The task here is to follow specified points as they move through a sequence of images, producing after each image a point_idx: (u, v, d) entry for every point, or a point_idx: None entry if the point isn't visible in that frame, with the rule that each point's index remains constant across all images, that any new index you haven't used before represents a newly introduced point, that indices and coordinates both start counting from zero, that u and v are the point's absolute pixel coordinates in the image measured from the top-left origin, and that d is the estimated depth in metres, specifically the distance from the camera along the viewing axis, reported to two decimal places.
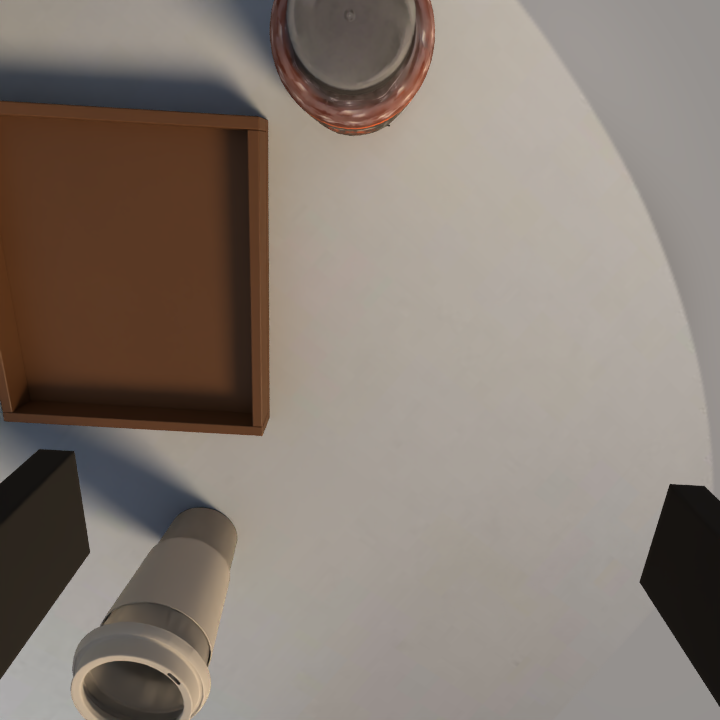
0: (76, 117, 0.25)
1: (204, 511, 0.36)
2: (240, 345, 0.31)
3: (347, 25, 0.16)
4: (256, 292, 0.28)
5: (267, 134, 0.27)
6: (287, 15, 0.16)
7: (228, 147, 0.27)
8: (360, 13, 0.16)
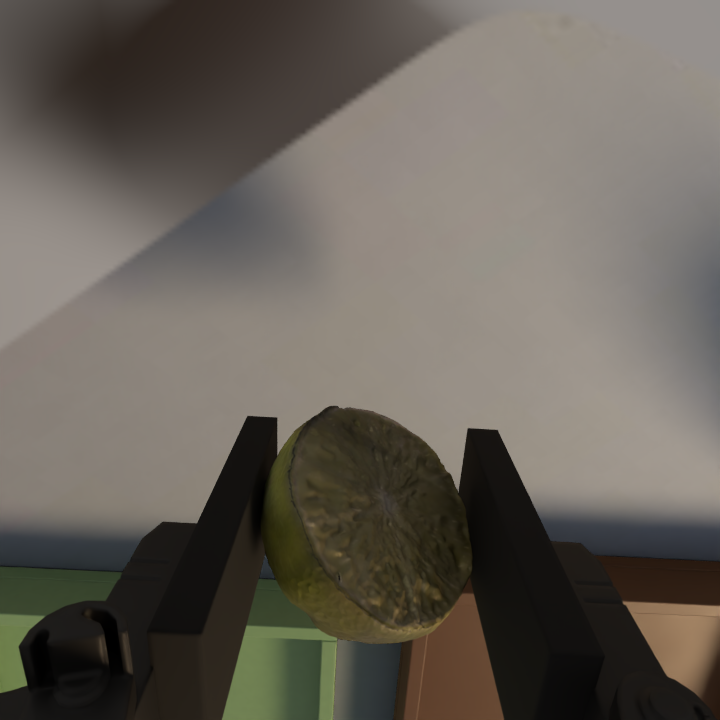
0: None
1: None
2: None
3: None
4: None
5: None
6: None
7: None
8: None
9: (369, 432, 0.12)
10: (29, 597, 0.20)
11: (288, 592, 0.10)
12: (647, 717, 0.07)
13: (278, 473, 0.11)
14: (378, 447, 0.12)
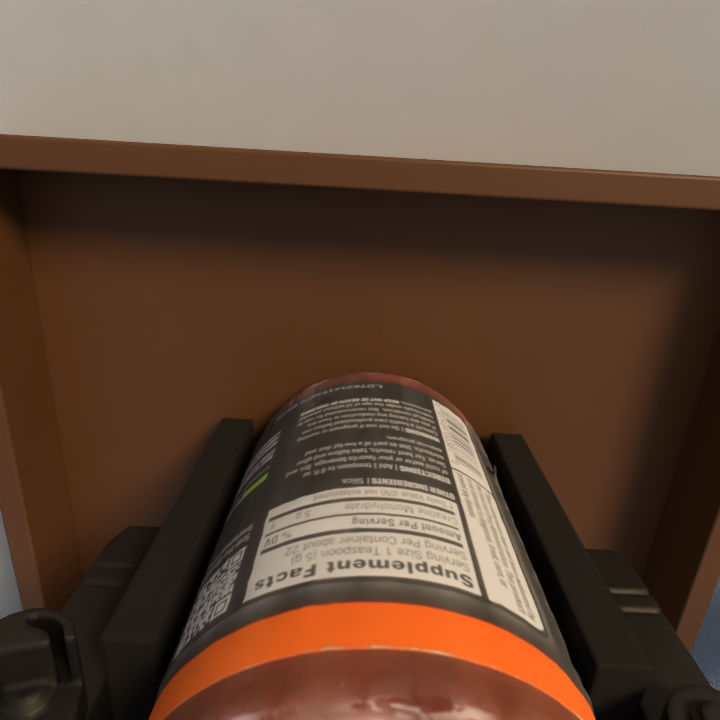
0: (26, 530, 0.13)
1: None
2: (548, 243, 0.12)
3: None
4: (390, 171, 0.10)
5: None
6: None
7: (64, 232, 0.12)
8: None
9: None
10: None
11: None
12: None
13: None
14: None
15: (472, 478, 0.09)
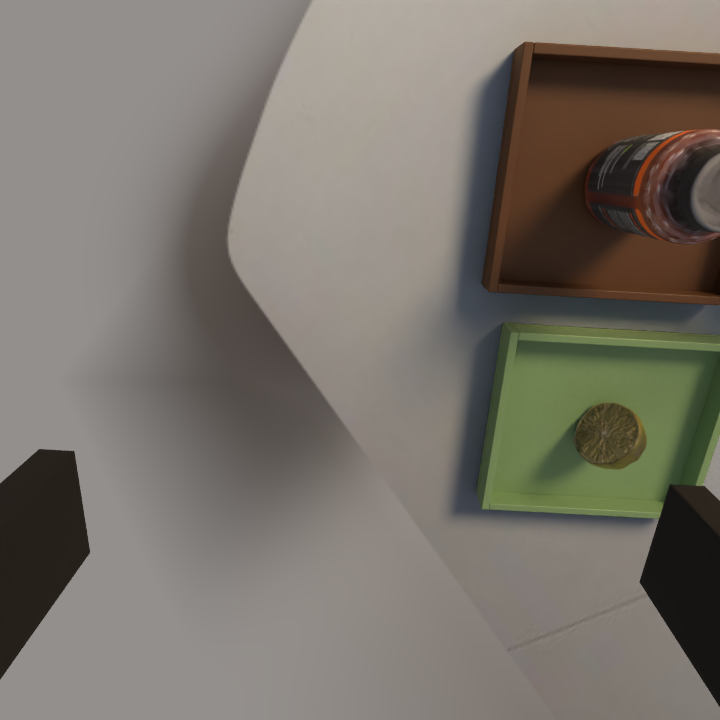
0: (510, 195, 0.34)
1: None
2: (703, 87, 0.34)
3: None
4: (666, 54, 0.32)
5: None
6: None
7: (534, 83, 0.34)
8: None
9: (583, 428, 0.41)
10: (485, 468, 0.43)
11: (620, 468, 0.39)
12: None
13: None
14: (589, 427, 0.41)
15: None
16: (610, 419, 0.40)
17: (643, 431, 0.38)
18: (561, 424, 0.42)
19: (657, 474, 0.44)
